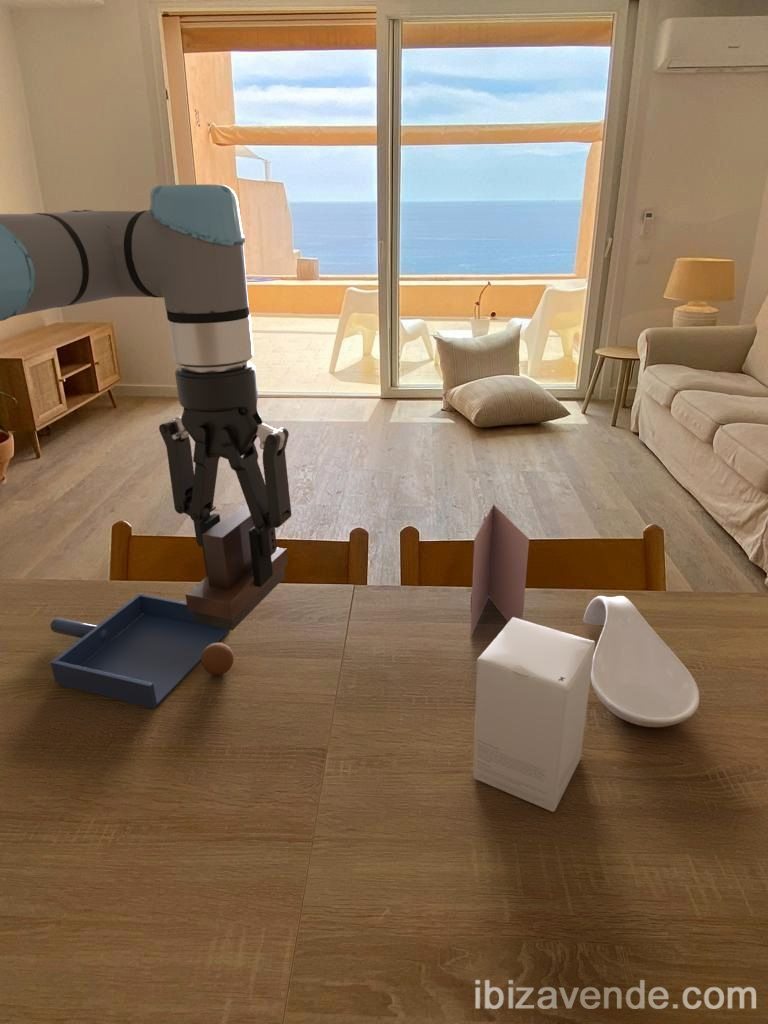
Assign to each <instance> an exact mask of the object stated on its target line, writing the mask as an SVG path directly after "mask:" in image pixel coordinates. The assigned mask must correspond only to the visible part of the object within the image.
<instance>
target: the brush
mask: <svg viewBox="0 0 768 1024" xmlns="http://www.w3.org/2000/svg"><path fill="white" fill-rule="evenodd" d="M254 526H255V525H254V522H253V520H252V517H251V514H250V511H249V508H248V505H247V504H241V505H239V506H238V507H237V508H236V509H235V510H233V511H232V512H230V513H229V514H228V515H226V516H225V517H223V519H220V522H218V523H217V524H216V525H214V526H213V527H212V528H210V529H209V530H208V531H206V532H205V533H204V534H202V539H203V546H204V553H205V560H206V567H207V574H208V576H207V575H206V576H205V577H204V578H203V579H202V580H201V581H199V582H198V583H197V584H196V585H195V586H193V588H191V589H190V590H189V591H188V592H187V593H185V601H186V603H187V608H188V611H190V612H193V614H194V621H195V623H199V624H204V625H209V626H214V627H219V628H224V629H228V630H230V631H234V629H236V628H237V627H238V626H239V625H240V624H241V623H242V622H243V621H244V619H245V618H247V617H248V615H249V614H251V612H252V611H253V610H254V609H255V608H256V607H258V605H259V604H260V603H262V601H263V600H265V598H266V597H267V596H269V594H270V593H271V592H272V591H273V590H274V589H275V588H276V587H277V586H278V585H279V584H280V583H281V582H282V581H283V580H284V579H285V577H286V573H285V567H286V566H288V564H289V562H288V561H289V560H288V552H287V551H288V550H287V548H283V547H277V548H276V551H275V552H274V553H273V554H272V555H271V560H272V571H273V576H272V577H271V578H270V579H269V580H268V581H267V582H266V583H264V584H263V585H262V586H261V587H257V586H255V585H254V577H253V568H252V558H251V549H250V540H249V530H250V529H252V528H253V527H254Z"/></svg>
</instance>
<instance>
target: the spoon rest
mask: <svg viewBox="0 0 768 1024" xmlns="http://www.w3.org/2000/svg"><path fill="white" fill-rule="evenodd" d="M582 621H583V623H584V624H585V625H589V626H603V628H602V631H601V634H600V636H599V639H598V641H597V644H596V647H595V648H594V655H593V663H592V670H591V678H590V682H591V684H592V689H593V690H594V693H595V695H596V696H597V698H598V700H599V701H600V702H601V703H602V705H603V706H604V707H605V708H606V709H607V710H608V711H610V712H611V713H612V714H613V715H615V716H617V717H618V718H619V719H621V720H623V721H626V722H628V723H631V724H634V725H637V726H640V727H641V726H642V727H647V728H665V727H669V726H673V725H677V724H680V723H682V722H684V721H686V720H688V719H689V718H690V717H692V716H693V715H694V714H695V713H696V712H697V710H698V708H699V705H700V691H699V688H698V685H697V682H696V680H695V679H694V676H692V674H691V671H689V670H688V668H687V667H686V665H684V663H683V662H682V661H681V660H680V658H679V657H678V656H677V655H676V654H675V652H674V651H673V650H672V649H671V648H670V647H669V646H668V644H666V643H665V642H664V640H663V639H662V638H661V637H660V635H658V634H657V632H656V631H655V630H654V629H653V628H652V627H651V625H650V624H649V623H648V622H647V621H646V619H645V618H644V616H642V614H641V613H640V612H639V610H638V609H637V607H635V605H634V603H632V601H631V600H630V599H628V597H626V596H624V595H617V596H605V595H598V596H595V597H594V598H593V599H592V600H590V603H589V604H588V605H587V607H586V610H585V613H584V615H583V619H582Z"/></svg>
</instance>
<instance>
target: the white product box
mask: <svg viewBox="0 0 768 1024" xmlns="http://www.w3.org/2000/svg"><path fill="white" fill-rule="evenodd" d="M595 646H596V640H592V639H588V638H585V637H581V636H578V635H575V634H571V633H568V632H564V631H561V630H557V629H555V628H551V627H547V626H544V625H540V624H537V623H534V622H531V621H527V620H524V619H523V620H521V619H518V618H515V617H512V619H511V620H510V621H509V622H508V621H507V623H506V624H505V626H503V628H502V629H501V631H500V632H499V633H498V634H497V636H496V637H495V638H494V639H493V640H492V641H491V642H490V644H489V645H488V646H487V647H486V648H485V650H484V651H483V652H482V653H481V654H480V655H479V657H478V658H477V659H476V686H475V689H476V690H475V711H474V713H475V714H474V738H473V764H472V778H473V779H474V780H477V781H479V782H482V783H484V784H486V785H488V786H490V787H493V788H495V789H498V790H499V791H502V792H505V793H507V794H509V795H512V796H514V797H517V798H519V799H520V800H521V799H522V800H523V801H526V802H528V803H530V804H533V805H534V806H535V805H536V806H538V807H540V808H543V809H545V810H547V811H549V812H552V813H554V812H555V811H556V810H557V807H558V805H559V803H560V802H561V800H562V797H563V796H564V794H565V791H566V790H567V788H568V785H569V783H570V781H571V779H572V777H573V775H574V773H575V771H576V769H577V767H578V765H579V763H580V760H581V758H582V751H583V743H584V735H585V727H586V719H587V712H588V711H587V709H588V703H589V702H588V701H589V693H590V685H591V670H592V663H593V656H594V652H595V648H596V647H595Z"/></svg>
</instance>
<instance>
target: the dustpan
mask: <svg viewBox="0 0 768 1024" xmlns="http://www.w3.org/2000/svg"><path fill="white" fill-rule="evenodd" d="M50 630H51V631H52V632H53V633H55V634H61V635H65V636H68V637H72V638H73V637H74V638H78V640H77V641H76V642H75V643H73V644H72V645H71V646H70V647H69V648H67V649H66V650H65V651H63V652H61V654H59V655H58V656H57V657H55V658H54V659H52V661H50V667H51V670H52V675H53V678H54V682H55V683H58V685H59V686H62V687H66V688H70V689H73V690H78V691H82V692H86V693H90V694H94V695H97V696H101V697H106V698H110V699H113V700H118V701H122V702H125V703H129V704H134V705H138V706H142V707H146V708H149V709H154V710H155V709H156V708H157V707H158V706H159V705H160V704H161V703H162V702H163V701H164V700H165V699H166V698H167V697H168V696H169V695H170V693H171V692H172V691H173V690H175V688H176V687H177V686H179V684H180V683H182V681H183V680H184V679H185V678H186V677H187V676H188V675H189V674H190V673H191V672H192V671H193V670H194V669H195V668H196V667H197V666H198V665H199V664H200V663H201V656H202V653H203V651H204V650H205V648H206V647H208V646H209V645H211V644H213V643H220V642H221V641H222V640H223V639H224V637H225V636H226V635H227V634H228V633H229V632H230V631H231V630H228V629H224V628H219V627H214V626H209V625H204V624H199V623H195V621H194V614H193V612H190V611H188V608H187V602H185V601H180V600H176V599H170V598H165V597H161V596H160V597H159V596H154V595H149V594H145V593H138V594H136V595H135V596H134V597H133V598H131V599H130V600H129V601H127V602H126V603H125V604H123V605H122V606H121V607H120V608H118V609H117V610H116V611H115V612H113V613H112V614H110V615H109V616H108V617H107V618H105V619H104V620H103V621H102V622H100V623H99V624H98V625H94V624H89V623H85V622H80V621H75V620H72V619H71V620H70V619H66V618H61V617H56V618H54V619H53V620H52V621H51V622H50Z"/></svg>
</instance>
